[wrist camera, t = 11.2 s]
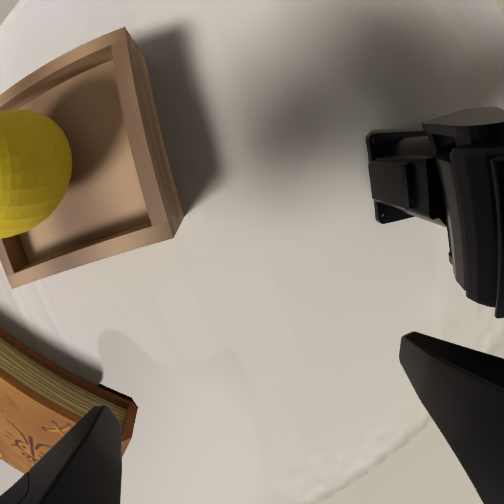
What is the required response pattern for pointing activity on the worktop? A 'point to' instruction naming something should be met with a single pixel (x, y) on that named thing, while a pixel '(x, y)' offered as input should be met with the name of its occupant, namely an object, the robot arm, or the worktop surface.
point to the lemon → (31, 169)
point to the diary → (47, 404)
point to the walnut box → (97, 160)
